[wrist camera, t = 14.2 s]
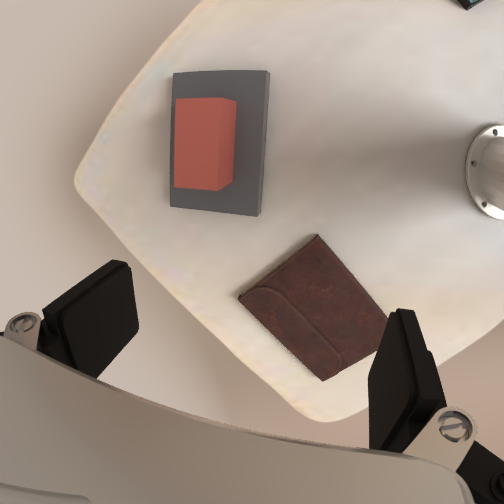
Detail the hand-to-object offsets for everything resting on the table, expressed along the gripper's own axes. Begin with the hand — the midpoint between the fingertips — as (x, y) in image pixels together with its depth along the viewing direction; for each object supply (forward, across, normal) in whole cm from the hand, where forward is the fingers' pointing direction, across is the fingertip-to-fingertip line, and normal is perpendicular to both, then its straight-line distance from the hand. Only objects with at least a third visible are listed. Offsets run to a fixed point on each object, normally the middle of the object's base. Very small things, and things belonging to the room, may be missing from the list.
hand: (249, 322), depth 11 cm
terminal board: (+30, +12, -4) cm, 33 cm away
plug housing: (+28, +12, -4) cm, 31 cm away
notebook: (+31, -4, +19) cm, 37 cm away
